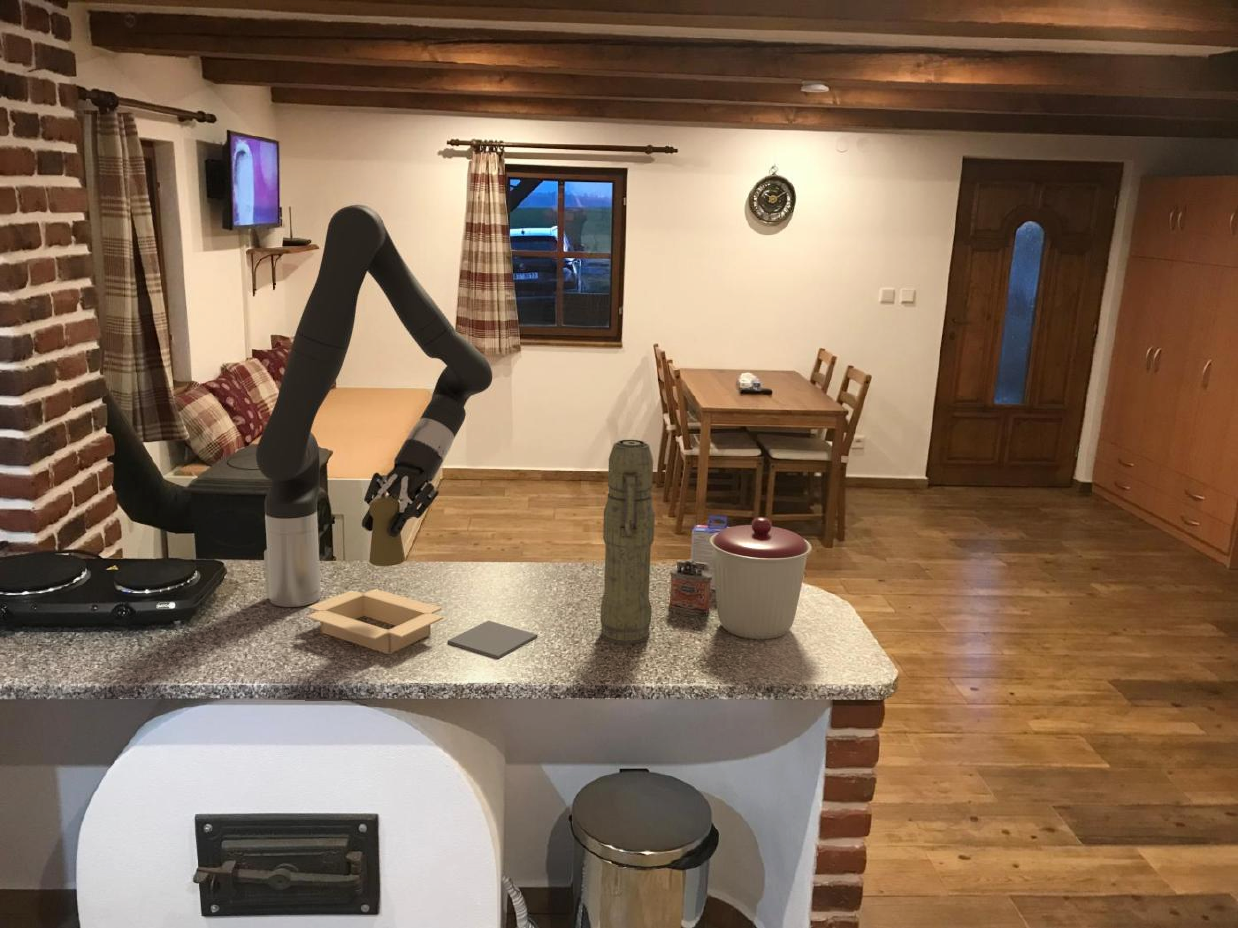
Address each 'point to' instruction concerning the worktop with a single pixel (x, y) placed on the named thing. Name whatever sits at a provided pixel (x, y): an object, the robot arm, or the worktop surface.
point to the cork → (385, 534)
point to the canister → (758, 578)
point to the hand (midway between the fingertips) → (378, 531)
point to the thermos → (628, 544)
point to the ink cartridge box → (706, 544)
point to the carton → (380, 606)
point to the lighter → (690, 588)
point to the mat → (492, 639)
